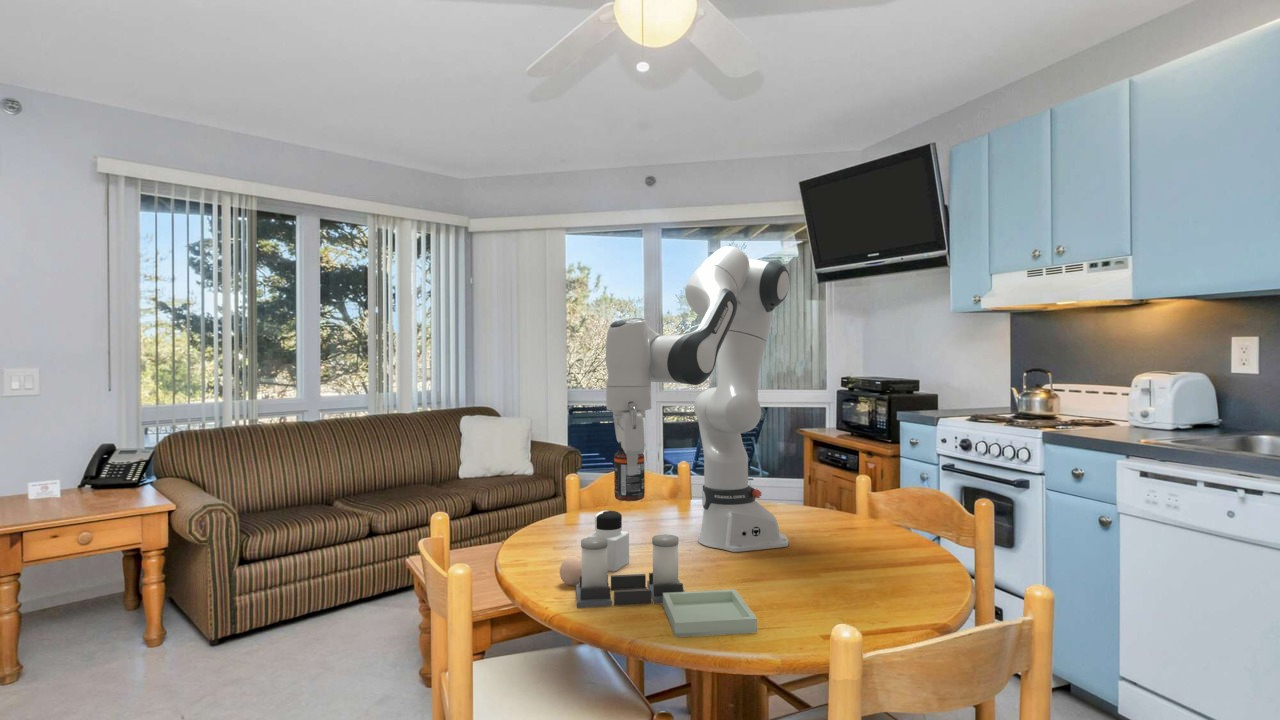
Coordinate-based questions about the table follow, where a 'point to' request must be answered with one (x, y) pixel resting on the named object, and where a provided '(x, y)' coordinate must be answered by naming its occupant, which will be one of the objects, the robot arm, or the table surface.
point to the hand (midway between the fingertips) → (630, 471)
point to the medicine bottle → (613, 538)
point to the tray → (708, 613)
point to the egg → (571, 570)
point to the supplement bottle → (628, 478)
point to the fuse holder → (596, 579)
